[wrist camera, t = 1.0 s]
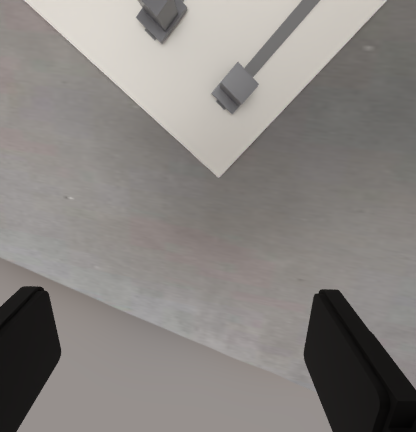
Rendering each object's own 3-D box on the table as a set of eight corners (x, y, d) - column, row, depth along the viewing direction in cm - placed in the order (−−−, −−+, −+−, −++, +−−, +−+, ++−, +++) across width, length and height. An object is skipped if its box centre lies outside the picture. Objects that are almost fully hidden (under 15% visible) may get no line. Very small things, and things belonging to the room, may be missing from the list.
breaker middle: (163, -17, 24) (151, -48, 19) (187, 9, 24) (182, -15, 20) (138, 20, 25) (121, -2, 20) (162, 44, 25) (151, 28, 21)
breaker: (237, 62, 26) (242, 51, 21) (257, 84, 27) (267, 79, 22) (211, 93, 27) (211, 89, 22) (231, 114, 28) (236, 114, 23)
